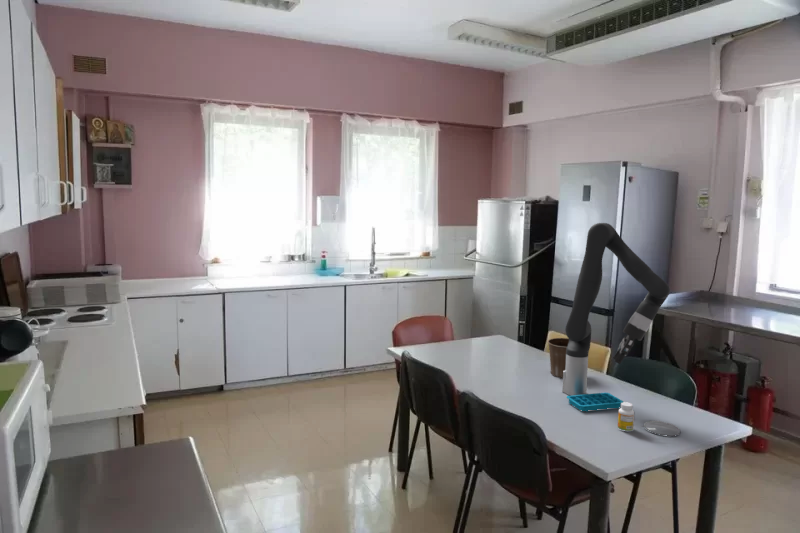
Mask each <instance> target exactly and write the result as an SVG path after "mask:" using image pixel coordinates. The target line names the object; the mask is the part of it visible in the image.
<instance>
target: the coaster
mask: <svg viewBox="0 0 800 533" xmlns="http://www.w3.org/2000/svg"><path fill="white" fill-rule="evenodd" d="M643 427H645V428H646V429H647V430H649V431H651V432H653V433H656V434H660V435H667V436H673V437H676V436H675V435H678V436H679V435H680V434H681V430H680V428H679V427H678V426H676V424H672V423H669V422H665V421H660V420H649V421H646V422H644V424H643ZM645 428H644V429H645ZM646 429H645V430H646ZM647 430H646V431H647ZM649 431H648V432H649ZM651 432H650V433H651ZM653 433H652V434H653ZM656 434H655V435H656ZM660 435H659V436H660ZM667 436H666V437H667Z"/></svg>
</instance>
